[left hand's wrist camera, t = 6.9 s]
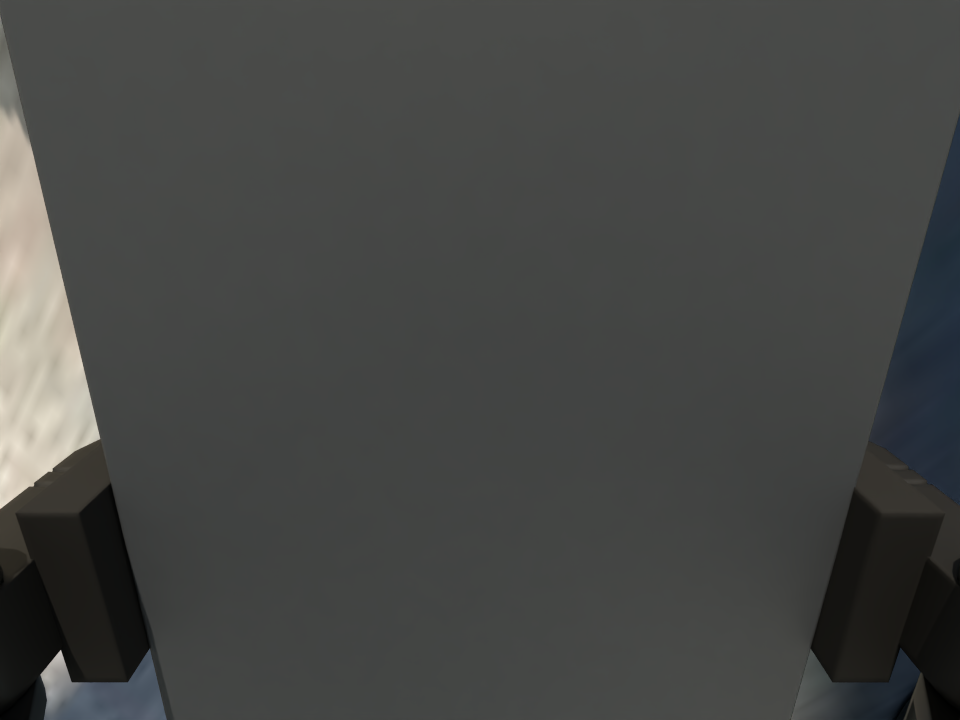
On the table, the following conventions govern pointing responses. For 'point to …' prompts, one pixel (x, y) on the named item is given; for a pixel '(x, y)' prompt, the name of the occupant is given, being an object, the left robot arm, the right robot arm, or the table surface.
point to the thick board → (485, 333)
